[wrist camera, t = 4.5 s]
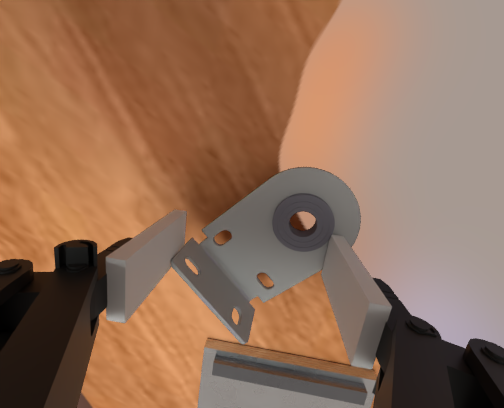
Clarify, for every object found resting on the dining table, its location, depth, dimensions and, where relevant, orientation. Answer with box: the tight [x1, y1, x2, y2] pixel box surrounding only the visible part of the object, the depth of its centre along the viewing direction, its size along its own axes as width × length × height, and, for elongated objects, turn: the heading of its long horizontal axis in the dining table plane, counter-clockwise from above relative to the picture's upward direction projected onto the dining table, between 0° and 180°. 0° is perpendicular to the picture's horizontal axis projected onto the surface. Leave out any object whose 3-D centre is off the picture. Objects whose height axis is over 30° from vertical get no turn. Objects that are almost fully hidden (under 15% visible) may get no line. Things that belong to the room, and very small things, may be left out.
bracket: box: [170, 167, 361, 344], centre depth 15 cm, size 7×10×4 cm, turn 128°
